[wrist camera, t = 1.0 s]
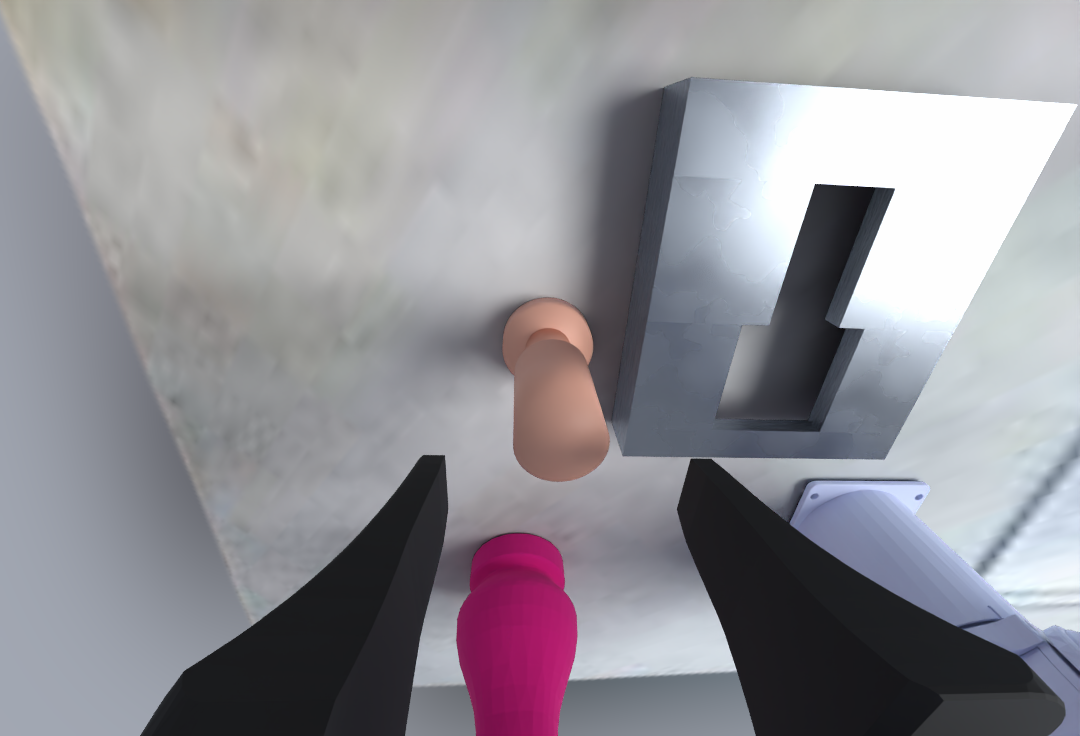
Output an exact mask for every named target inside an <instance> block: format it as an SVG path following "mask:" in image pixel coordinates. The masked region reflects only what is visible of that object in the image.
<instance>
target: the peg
mask: <svg viewBox="0 0 1080 736" xmlns="http://www.w3.org/2000/svg"><path fill="white" fill-rule="evenodd" d="M502 351H503V357H504V361H505V363H506V365H507V367H508V369H509V370H510V372H511V373H512V374H513V375H514V430H513V449H514V454H515V456H516V459H517V461H518V462H519V464H520V465H521V466H522V467H523V468H524V469H525V470H526V471H527V472H528V473H530V474H531V475H533V476H535V477H537V478H540V479H543V480H547V481H556V482H562V481H570V480H574V479H578V478H580V477H583V476H585V475H587V474H589V473H590V472H592V471H593V470H594V469H596V468H597V467H598V466H599V465H600V464H601V462H602V461H603V460H604V458H605V456H606V454H607V452H608V449H609V443H610V438H609V433H608V429H607V426H606V423H605V419H604V416H603V413H602V410H601V406H600V403H599V400H598V397H597V393H596V390H595V387H594V384H593V381H592V377H591V374H590V371H589V368H588V364H589V362H590V360H591V357H592V353H593V339H592V335H591V332H590V329H589V327H588V324H587V322H586V319H585V318H584V316H583V315H582V313H581V312H580V311H579V310H578V309H577V308H576V307H575V306H573V305H572V304H570V303H568V302H566V301H564V300H561V299H557V298H538V299H534V300H531V301H529V302H526V303H525V304H523V305H521V306H520V307H519V308H517V309H516V310H515V311H514V312H513V313H512V315H511V316H510V317H509V319H508V321H507V323H506V325H505V329H504V333H503V346H502Z"/></svg>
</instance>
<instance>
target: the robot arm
mask: <svg viewBox="0 0 1080 736" xmlns="http://www.w3.org/2000/svg"><path fill="white" fill-rule="evenodd" d="M929 491H930V486H928V485H927V484H926V483H925V482H915V481H812V482H810V483H809V484H808V485H807V486H806V488H805V490H804V493H803V495H802V497H801V499H800V502H799V504H798V506H797V508H796V510H795V513H794V515H793V517H792V519H791V521H790V524H789V523H787V522H786V521H785V520H784V519H782V518H781V517H780V516H779V515H777V514H776V513H775V512H774V511H772V510H771V509H770V508H769V507H767V506H766V505H765V504H764V503H763V502H761V501H760V500H759V499H758V498H757V497H756V496H754V495H753V494H752V493H751V492H750V491H749V490H747V489H746V488H745V487H744V486H743V485H742V484H740V483H739V482H738V481H737V480H736V479H735V478H733V477H732V476H731V475H730V474H729V473H728V472H726V471H725V470H724V469H723V468H722V467H721V466H719V465H718V464H717V463H716V462H714V461H713V460H712V459H691V460H690V464H689V467H688V471H687V475H686V478H685V482H684V485H683V489H682V493H681V496H680V500H679V504H678V507H677V511H678V515H679V519H680V522H681V526H682V530H683V533H684V536H685V540H686V543H687V545H688V548H689V550H690V552H691V555H692V557H693V559H694V562H695V564H696V567H697V569H698V571H699V573H700V576H701V578H702V580H703V583H704V585H705V587H706V590H707V592H708V594H709V597H710V599H711V601H712V603H713V606H714V608H715V610H716V613H717V615H718V617H719V620H720V622H721V625H722V628H723V630H724V633H725V636H726V639H727V642H728V645H729V648H730V651H731V654H732V657H733V660H734V663H735V666H736V669H737V672H738V676H739V679H740V682H741V686H742V689H743V692H744V696H745V698H746V702H747V706H748V708H749V712H750V716H751V720H752V723H753V727H754V730H755V734H756V736H1080V632H1076V631H1072V630H1065V629H1064V628H1062V627H1060V626H1056V625H1055V626H1051V627H1049V628H1047V629H1045V630H1043V631H1044V632H1043V631H1042V630H1040V629H1039V628H1037V627H1036V626H1034V625H1032V624H1031V623H1030V622H1029V621H1028V620H1027V619H1026V618H1025V617H1023V616H1022V615H1021V614H1020V613H1019V612H1018V611H1017V610H1016V609H1015V608H1014V607H1013V606H1012V605H1011V604H1010V603H1009V602H1008V601H1006V600H1005V599H1004V598H1003V597H1002V596H1001V595H1000V594H999V593H998V592H997V591H996V590H995V589H994V588H993V587H992V586H991V585H989V584H988V583H987V582H986V581H985V580H984V579H983V578H982V577H981V576H980V575H979V574H978V573H977V572H976V571H975V570H974V569H972V568H971V567H970V566H969V565H968V564H967V563H966V562H965V561H964V560H963V559H962V558H961V557H960V556H959V555H958V554H957V553H956V552H954V551H953V550H952V549H951V548H950V547H949V546H948V545H947V544H946V543H945V542H944V541H943V540H942V539H941V538H940V537H939V536H937V535H936V534H935V533H934V532H933V531H932V530H931V529H930V528H929V527H928V526H927V525H926V524H925V523H924V522H923V521H922V520H920V519H919V518H918V517H917V516H916V515H915V513H916V512H917V510H918V509H919V507H920V505H921V504H922V502H923V501H924V499H925V497H926V496H927V494H928V493H929ZM447 514H448V496H447V480H446V465H445V455H423V456H422V457H421V458H419V460H418V461H417V463H416V464H415V466H414V467H413V469H412V470H411V472H410V473H409V474H408V476H407V477H406V479H405V480H404V481H403V483H402V484H401V485H400V487H399V488H398V489H397V490H396V492H395V493H394V494H393V495H392V497H391V498H390V499H389V500H388V502H387V503H386V504H385V505H384V507H383V508H382V509H381V510H380V511H379V513H378V514H377V515H376V516H375V517H374V518H373V519H372V520H371V521H370V523H369V524H368V525H367V526H366V527H365V528H364V529H363V530H362V531H361V533H360V534H359V535H358V536H357V537H356V538H355V539H354V540H353V541H352V542H351V543H350V544H349V545H348V546H347V547H346V548H345V549H344V550H343V551H342V552H341V553H340V554H339V555H338V556H337V557H336V558H335V559H334V560H333V561H332V562H330V563H329V564H328V565H327V566H326V567H325V568H324V569H323V570H322V571H320V572H319V573H318V574H317V575H316V576H315V577H314V578H312V579H311V580H310V581H309V582H308V583H307V584H306V585H304V586H303V587H302V588H301V589H300V590H298V591H297V592H296V593H295V594H294V595H292V596H291V597H290V598H289V599H287V600H286V601H285V602H283V603H282V604H281V605H279V606H278V607H277V608H275V609H274V610H273V611H271V612H270V613H269V614H267V615H266V616H265V617H263V618H262V619H261V620H260V621H258V622H257V623H256V624H254V625H253V626H251V627H250V628H249V629H247V630H246V631H244V632H243V633H242V634H240V635H239V636H237V637H236V638H234V639H233V640H231V641H230V642H228V643H227V644H225V645H224V646H222V647H221V648H219V649H217V650H216V651H214V652H213V653H212V654H210V655H208V656H207V657H205V658H204V659H202V660H201V661H199V662H198V663H196V664H195V665H193V666H191V667H190V668H188V669H186V670H185V671H184V672H183V674H182V675H181V676H180V678H179V679H178V680H177V682H176V683H175V685H174V686H173V687H172V688H171V690H170V691H169V692H168V694H167V695H166V696H165V698H164V699H163V701H162V702H161V704H160V705H159V707H158V709H157V710H156V711H155V713H154V715H153V716H152V718H151V719H150V721H149V723H148V724H147V726H146V727H145V729H144V730H143V732H142V734H141V735H140V736H405V731H406V724H407V717H408V711H409V704H410V697H411V691H412V685H413V678H414V672H415V666H416V660H417V653H418V647H419V641H420V636H421V631H422V626H423V622H424V618H425V614H426V610H427V606H428V602H429V598H430V594H431V590H432V586H433V582H434V578H435V575H436V571H437V567H438V563H439V559H440V555H441V551H442V547H443V543H444V536H445V529H446V522H447Z"/></svg>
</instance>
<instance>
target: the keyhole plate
mask: <svg viewBox="0 0 1080 736" xmlns="http://www.w3.org/2000/svg"><path fill="white" fill-rule="evenodd" d="M1077 105H1078V104H1064V103H1050V102H1035V101H1021V100H1007V99H993V98H979V97H964V96H950V95H936V94H922V93H908V92H893V91H879V90H865V89H851V88H837V87H822V86H808V85H794V84H780V83H765V82H751V81H737V80H723V79H709V78H694V77H691V78H688V79H685V80H683V81H680V82H677V83H674V84H672V85H669V86H666V87H664V92H663V98H662V104H661V111H660V117H659V123H658V130H657V136H656V142H655V149H654V155H653V161H652V168H651V174H650V181H649V187H648V193H647V200H646V206H645V212H644V219H643V225H642V231H641V238H640V244H639V250H638V257H637V263H636V269H635V276H634V282H633V288H632V295H631V301H630V308H629V314H628V320H627V327H626V333H625V339H624V346H623V352H622V358H621V365H620V371H619V377H618V384H617V390H616V396H615V403H614V409H613V415H612V425H613V428H614V431H615V434H616V437H617V440H618V443H619V446H620V449H621V452H622V455H623V456H649V457H729V458H809V459H885V458H886V456H887V454H888V452H889V450H890V448H891V447H892V445H893V443H894V441H895V439H896V437H897V436H898V434H899V432H900V430H901V428H902V426H903V425H904V423H905V421H906V419H907V417H908V415H909V413H910V412H911V410H912V408H913V406H914V404H915V402H916V401H917V399H918V397H919V395H920V393H921V391H922V390H923V388H924V386H925V384H926V382H927V380H928V379H929V377H930V375H931V373H932V371H933V369H934V368H935V366H936V364H937V362H938V360H939V358H940V356H941V355H942V353H943V351H944V349H945V347H946V345H947V344H948V342H949V340H950V338H951V336H952V334H953V333H954V331H955V329H956V327H957V325H958V323H959V322H960V320H961V318H962V316H963V314H964V312H965V311H966V309H967V307H968V305H969V303H970V301H971V299H972V298H973V296H974V294H975V292H976V290H977V288H978V287H979V285H980V283H981V281H982V279H983V277H984V276H985V274H986V272H987V270H988V268H989V266H990V265H991V263H992V261H993V259H994V257H995V255H996V254H997V252H998V250H999V248H1000V246H1001V244H1002V242H1003V241H1004V239H1005V237H1006V235H1007V233H1008V231H1009V230H1010V228H1011V226H1012V224H1013V222H1014V220H1015V219H1016V217H1017V215H1018V213H1019V211H1020V209H1021V208H1022V206H1023V204H1024V202H1025V200H1026V198H1027V197H1028V195H1029V193H1030V191H1031V189H1032V187H1033V185H1034V184H1035V182H1036V180H1037V178H1038V176H1039V174H1040V173H1041V171H1042V169H1043V167H1044V165H1045V163H1046V162H1047V160H1048V158H1049V156H1050V154H1051V152H1052V151H1053V149H1054V147H1055V145H1056V143H1057V141H1058V140H1059V138H1060V136H1061V134H1062V132H1063V130H1064V128H1065V127H1066V125H1067V123H1068V121H1069V119H1070V117H1071V116H1072V114H1073V112H1074V110H1075V108H1076V106H1077ZM815 184H831V185H849V186H867V187H876V188H875V191H874V193H873V196H872V198H871V201H870V204H869V206H868V209H867V211H866V214H865V217H864V219H863V222H862V224H861V227H860V230H859V232H858V235H857V237H856V240H855V242H854V245H853V248H852V250H851V253H850V255H849V258H848V261H847V263H846V266H845V268H844V271H843V274H842V276H841V279H840V281H839V284H838V286H837V289H836V292H835V294H834V297H833V299H832V302H831V305H830V307H829V310H828V312H827V315H826V318H825V320H826V321H828V322H830V323H832V324H833V325H835V326H837V327H838V328H846V330H845V333H844V335H843V337H842V340H841V342H840V345H839V347H838V349H837V352H836V354H835V357H834V359H833V361H832V364H831V366H830V369H829V371H828V373H827V376H826V378H825V381H824V383H823V385H822V388H821V390H820V393H819V395H818V397H817V400H816V402H815V405H814V407H813V410H812V412H811V414H810V417H809V419H808V420H755V419H715V416H716V413H717V410H718V406H719V403H720V399H721V396H722V392H723V389H724V386H725V382H726V379H727V375H728V372H729V368H730V365H731V362H732V358H733V355H734V351H735V348H736V345H737V341H738V338H739V334H740V331H741V327H742V325H767V326H769V324H770V321H771V318H772V315H773V312H774V309H775V305H776V302H777V299H778V296H779V293H780V290H781V287H782V284H783V281H784V278H785V275H786V271H787V268H788V265H789V262H790V259H791V256H792V253H793V250H794V247H795V244H796V241H797V238H798V234H799V231H800V228H801V225H802V222H803V219H804V216H805V213H806V210H807V207H808V204H809V200H810V197H811V194H812V191H813V188H814V185H815Z"/></svg>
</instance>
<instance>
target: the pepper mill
mask: <svg viewBox="0 0 1080 736" xmlns="http://www.w3.org/2000/svg"><path fill="white" fill-rule="evenodd" d="M564 585H565V578H564V569H563V560H562V556H561V554H560V553H559V551H558V549H557V548H556V547H555V546H554V545H553V544H552V543H551V542H549V541H547V540H545V539H543V538H541V537H539V536H535V535H531V534H522V533H513V534H506V535H502V536H499V537H496V538H493V539H492V540H490V541H488V542H487V543H485V544H483V545H482V546H481V547H480V549H479V550H478V551H477V552H476V553H475V555H474V557H473V560H472V567H471V576H470V590H471V593H470V595H469V596H468V597H467V598H466V600H465V601H464V603H463V605H462V607H461V608H460V612H459V615H458V619H457V639H456V641H457V649H458V656H459V662H460V667H461V670H462V673H463V676H464V679H465V682H466V685H467V689H468V692H469V695H470V699H471V702H472V706H473V710H474V718H475V727H476V736H558V723H559V714H560V708H561V704H562V700H563V696H564V692H565V689H566V685H567V682H568V679H569V675H570V672H571V669H572V665H573V662H574V658H575V652H576V644H577V616H576V612H575V608H574V605H573V603H572V602H571V600H570V598H569V597H568V595H567V594H566V593H565V592H564V591H563V590H564Z"/></svg>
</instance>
